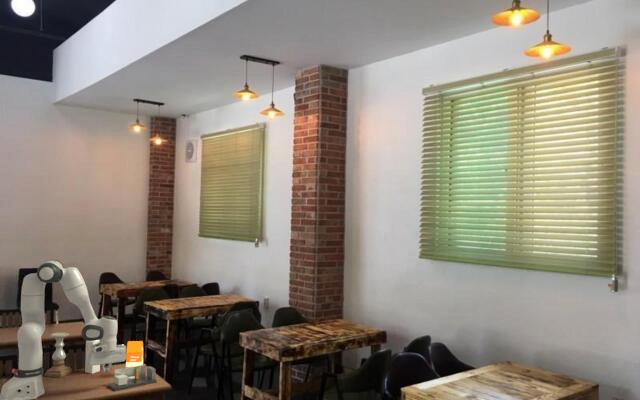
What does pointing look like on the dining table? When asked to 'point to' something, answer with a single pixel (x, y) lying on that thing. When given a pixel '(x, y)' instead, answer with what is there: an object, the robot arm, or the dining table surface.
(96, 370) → the milk
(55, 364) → the candle holder
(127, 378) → the white block
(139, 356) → the orange juice
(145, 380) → the bench
